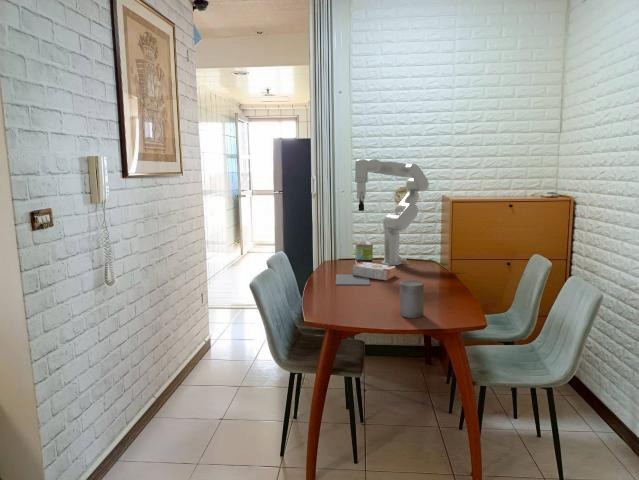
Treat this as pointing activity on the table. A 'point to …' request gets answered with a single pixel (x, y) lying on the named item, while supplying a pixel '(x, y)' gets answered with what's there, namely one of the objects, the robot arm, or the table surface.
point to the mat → (351, 280)
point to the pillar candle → (411, 298)
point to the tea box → (364, 252)
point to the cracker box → (373, 270)
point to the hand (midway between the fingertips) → (361, 210)
